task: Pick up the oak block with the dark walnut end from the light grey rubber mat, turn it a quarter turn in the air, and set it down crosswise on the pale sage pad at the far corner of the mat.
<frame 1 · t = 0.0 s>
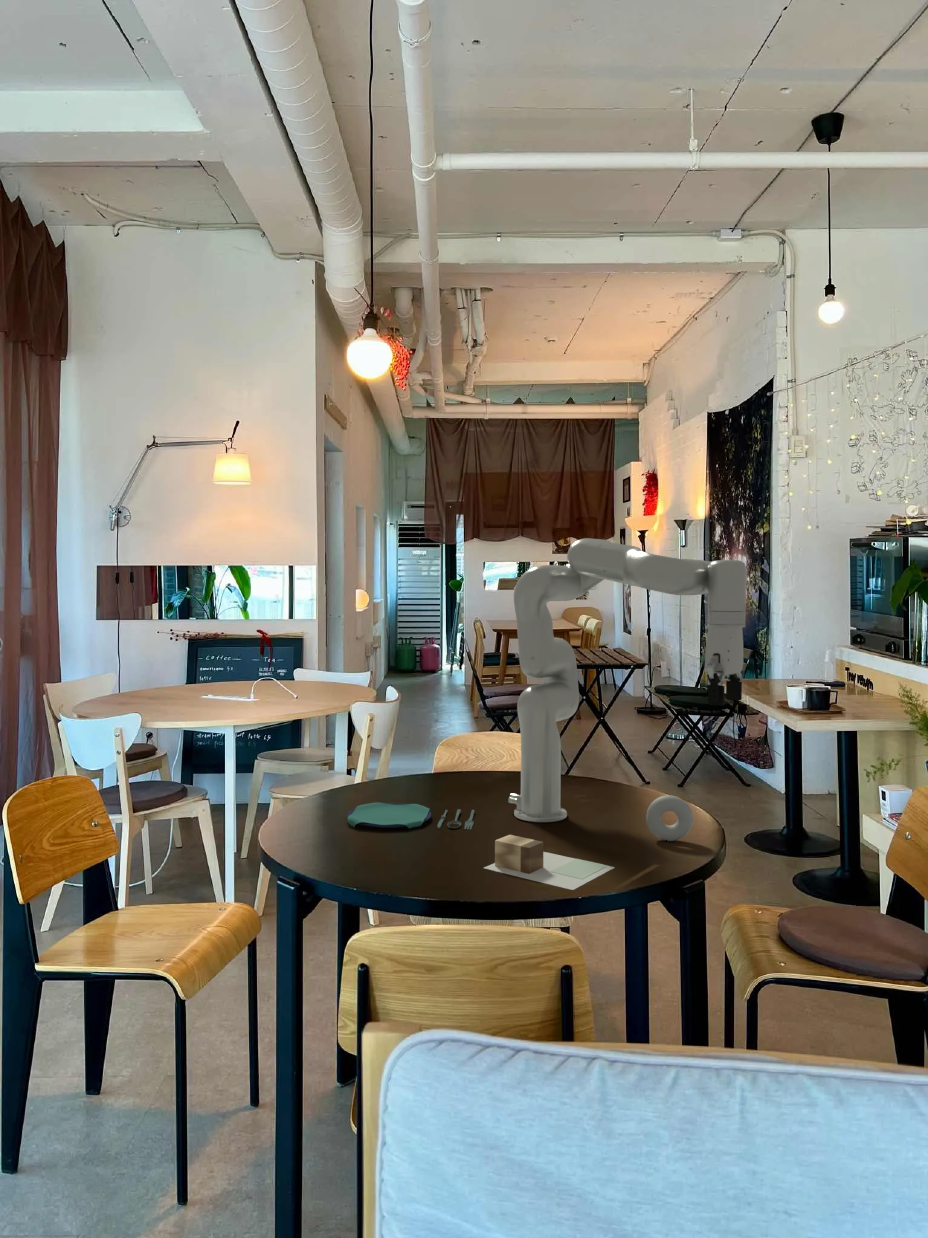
hand: (725, 702, 183), 31 cm above the table, tool pointing down, fingers open, 9 cm apart
donut: (669, 842, 191), on the table
oak block: (519, 866, 172), point 1 cm above the table, touching grey mat
grey mat: (549, 870, 171), on the table
cutlery set: (410, 823, 207), on the table
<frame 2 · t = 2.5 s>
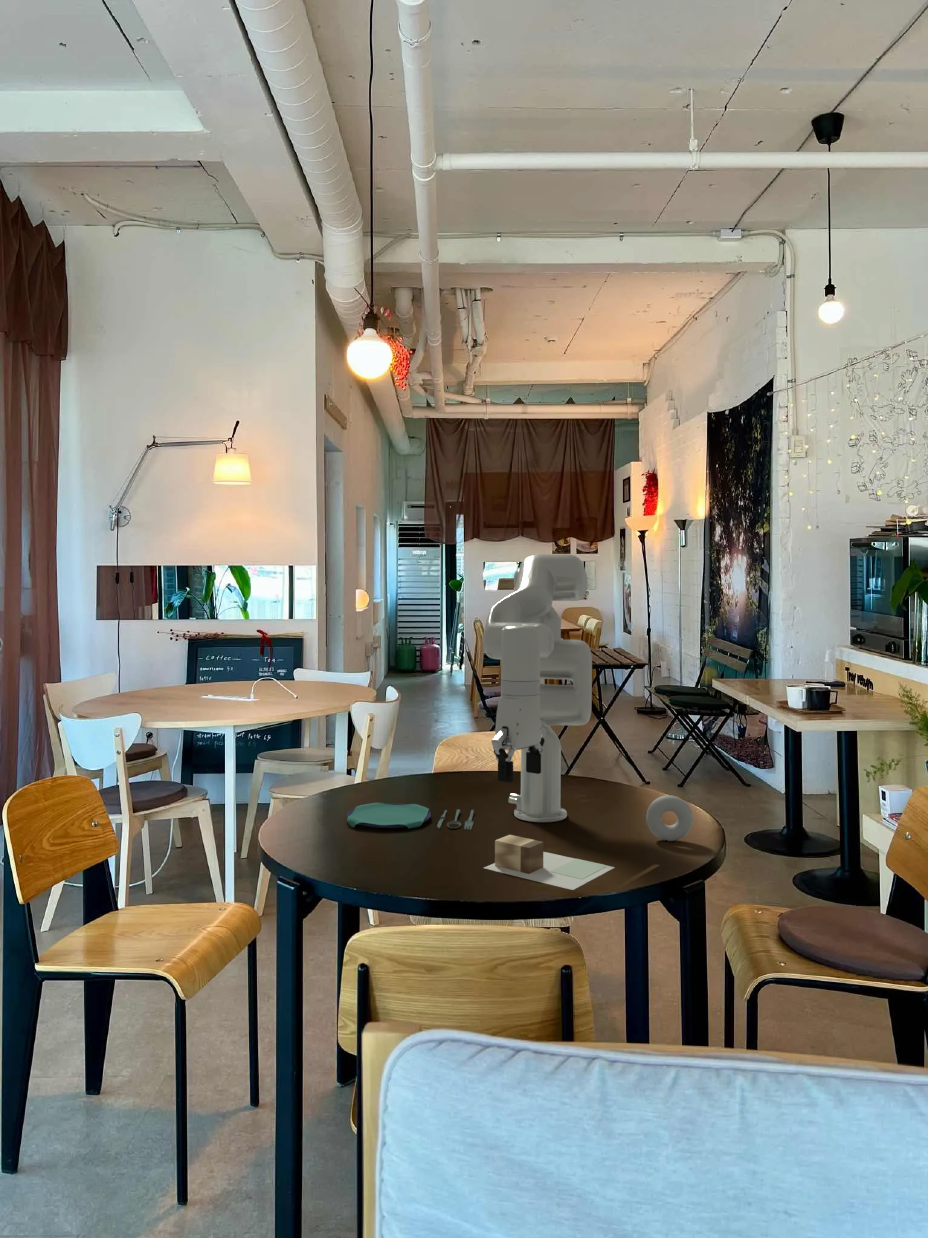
hand: (519, 777, 171), 18 cm above the table, tool pointing down, fingers open, 9 cm apart
nothing on the table moved.
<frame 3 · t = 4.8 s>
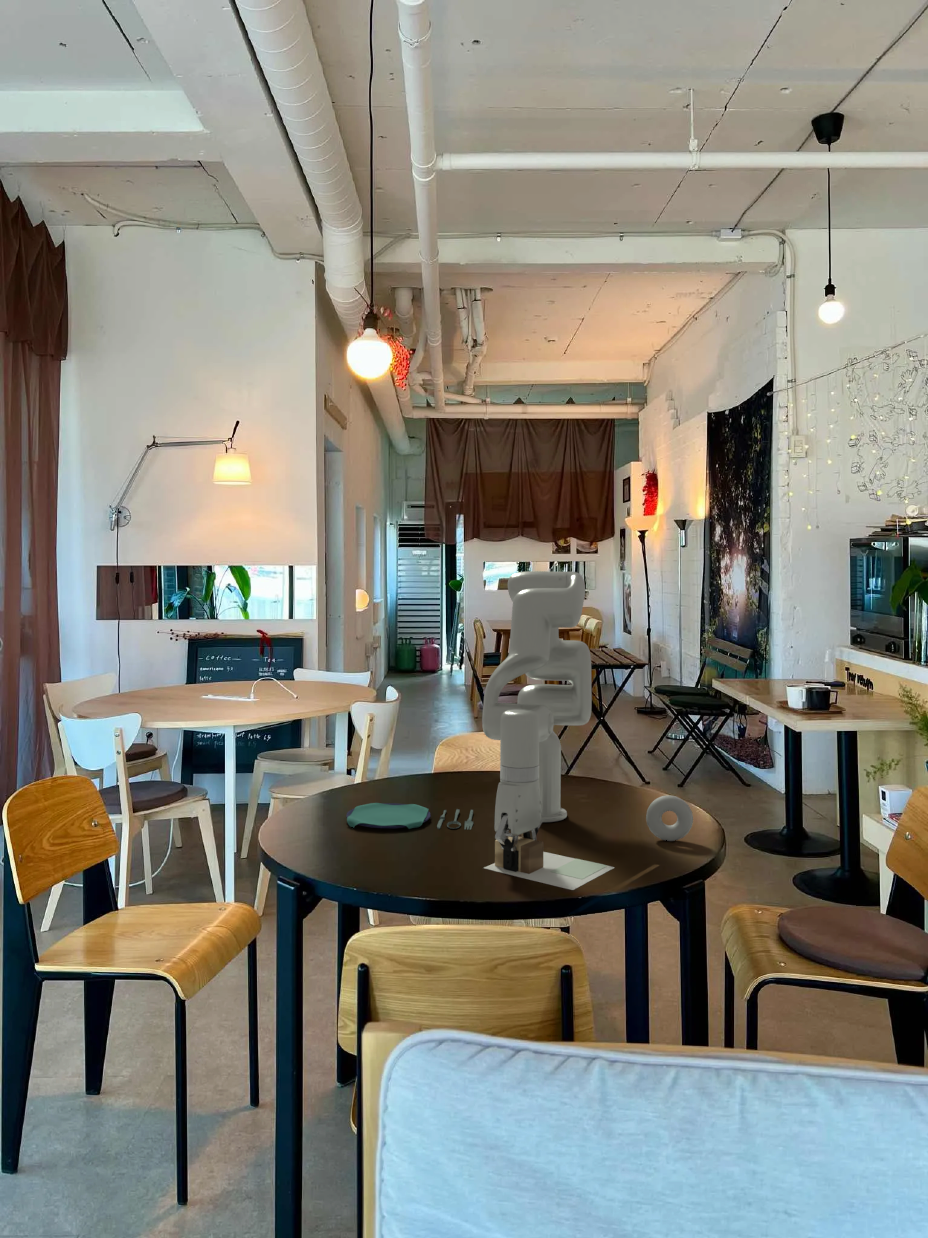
hand: (519, 865, 172), 1 cm above the table, tool pointing down, fingers closed on oak block, 5 cm apart
oak block: (519, 866, 172), point 1 cm above the table, touching grey mat, gripper
everything else where it was.
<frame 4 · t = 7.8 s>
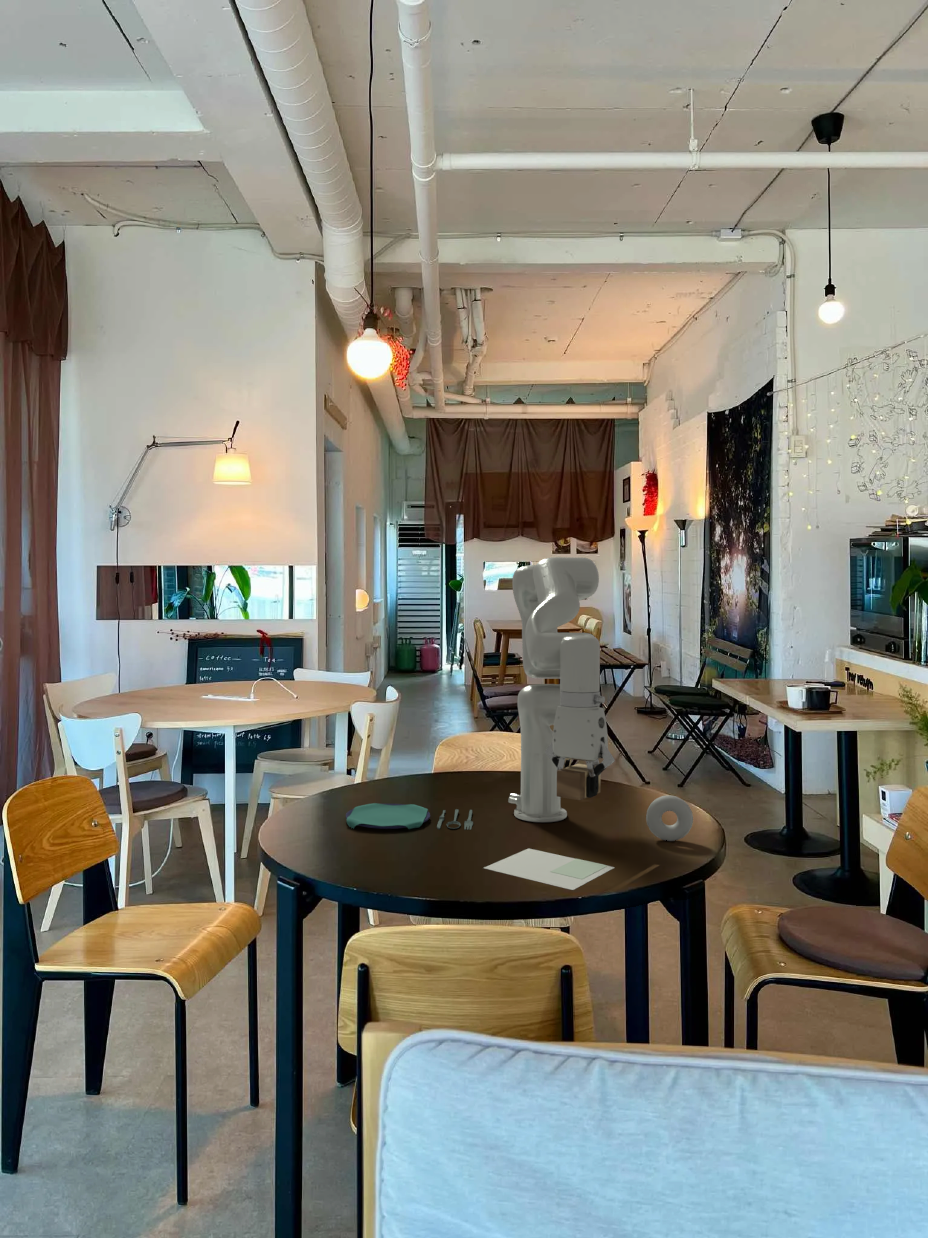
hand: (578, 793, 170), 15 cm above the table, tool pointing down, fingers closed on oak block, 5 cm apart
oak block: (578, 794, 170), point 15 cm above the table, touching gripper
everything else where it was.
when the fingers open (2 cm above the table, at t = 11.0 s): oak block drops 1 cm, resting on grey mat.
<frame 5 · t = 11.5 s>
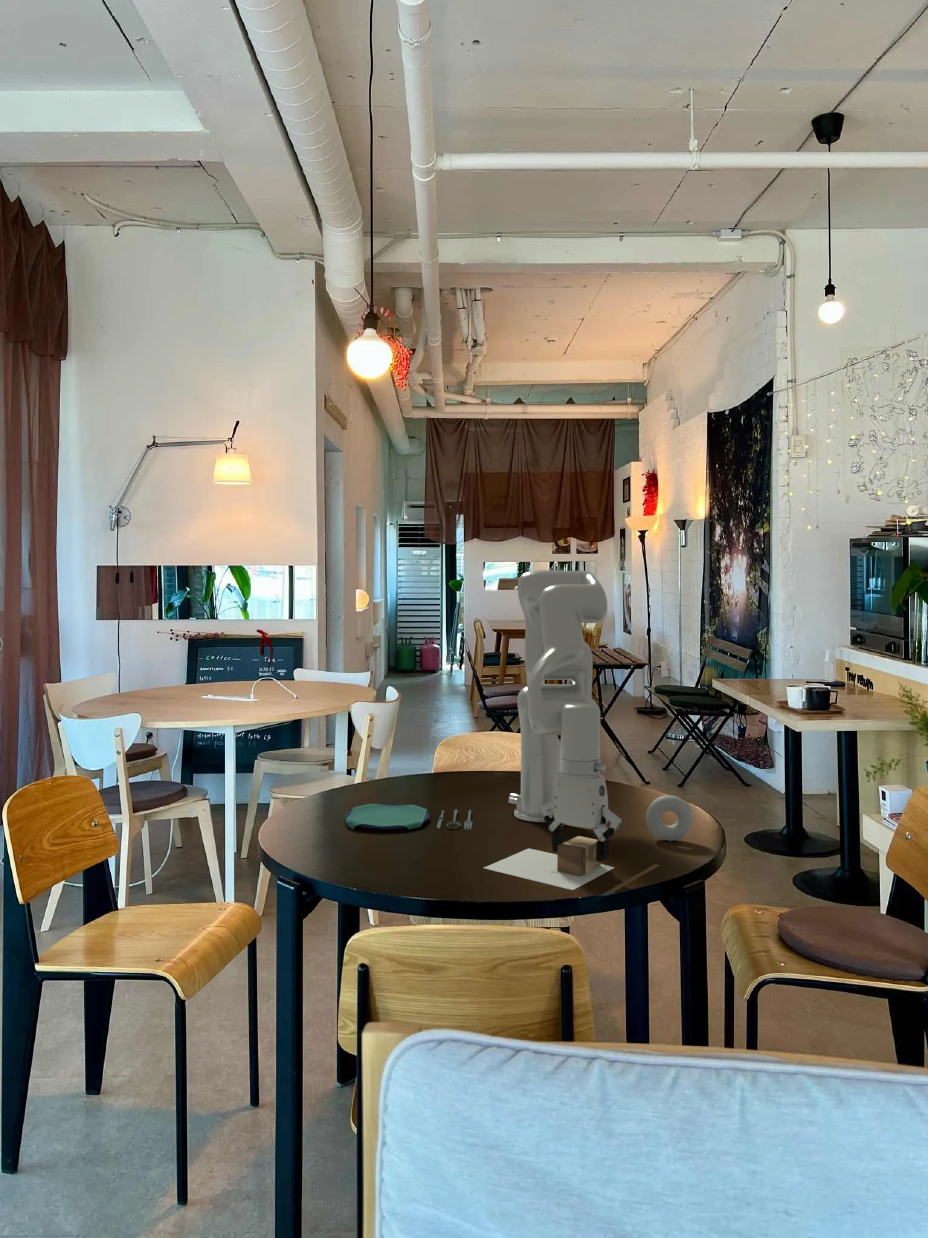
hand: (579, 855, 171), 3 cm above the table, tool pointing down, fingers open, 9 cm apart
oak block: (579, 868, 171), point 1 cm above the table, touching grey mat
everything else where it was.
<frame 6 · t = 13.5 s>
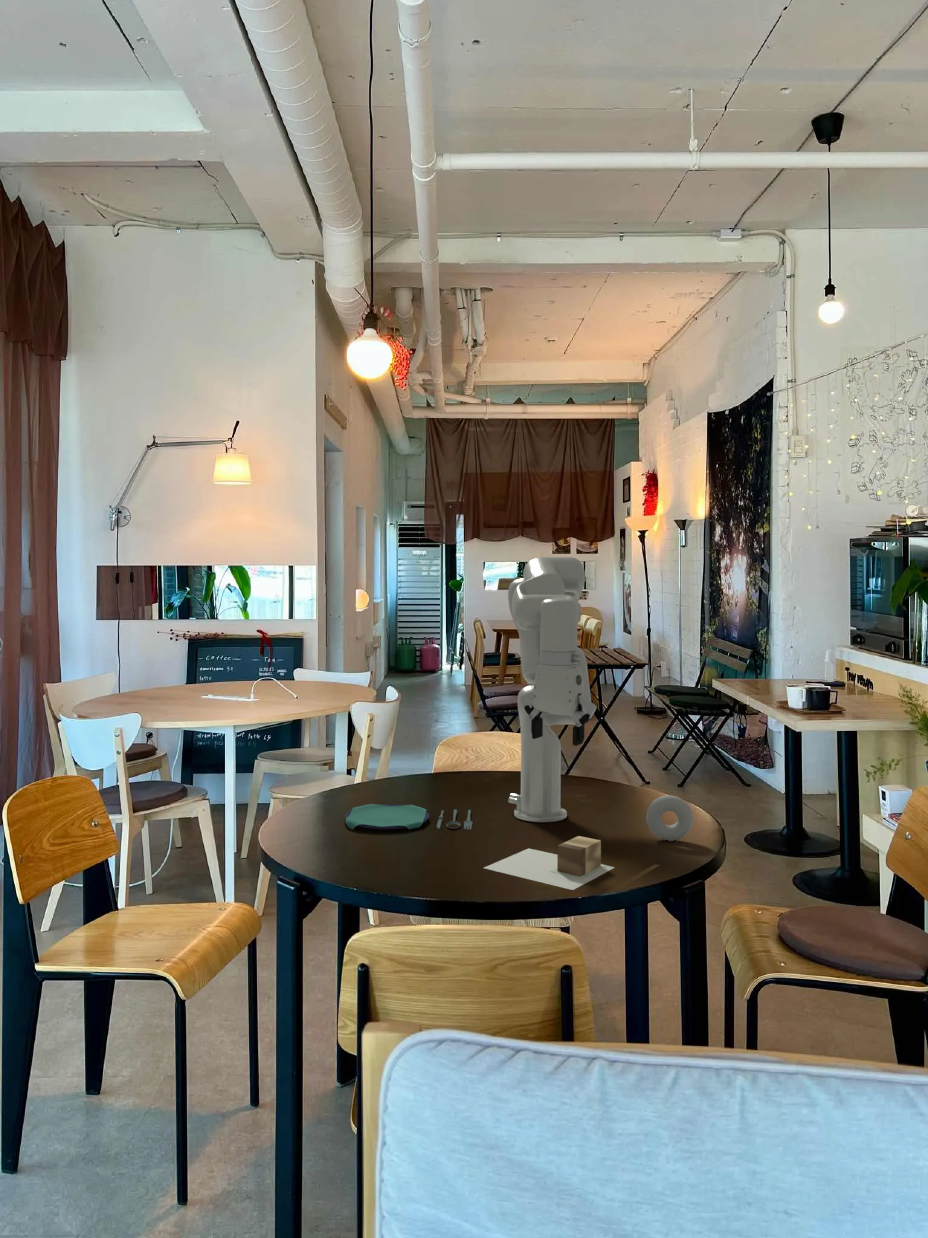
hand: (557, 741, 182), 23 cm above the table, tool pointing down, fingers open, 9 cm apart
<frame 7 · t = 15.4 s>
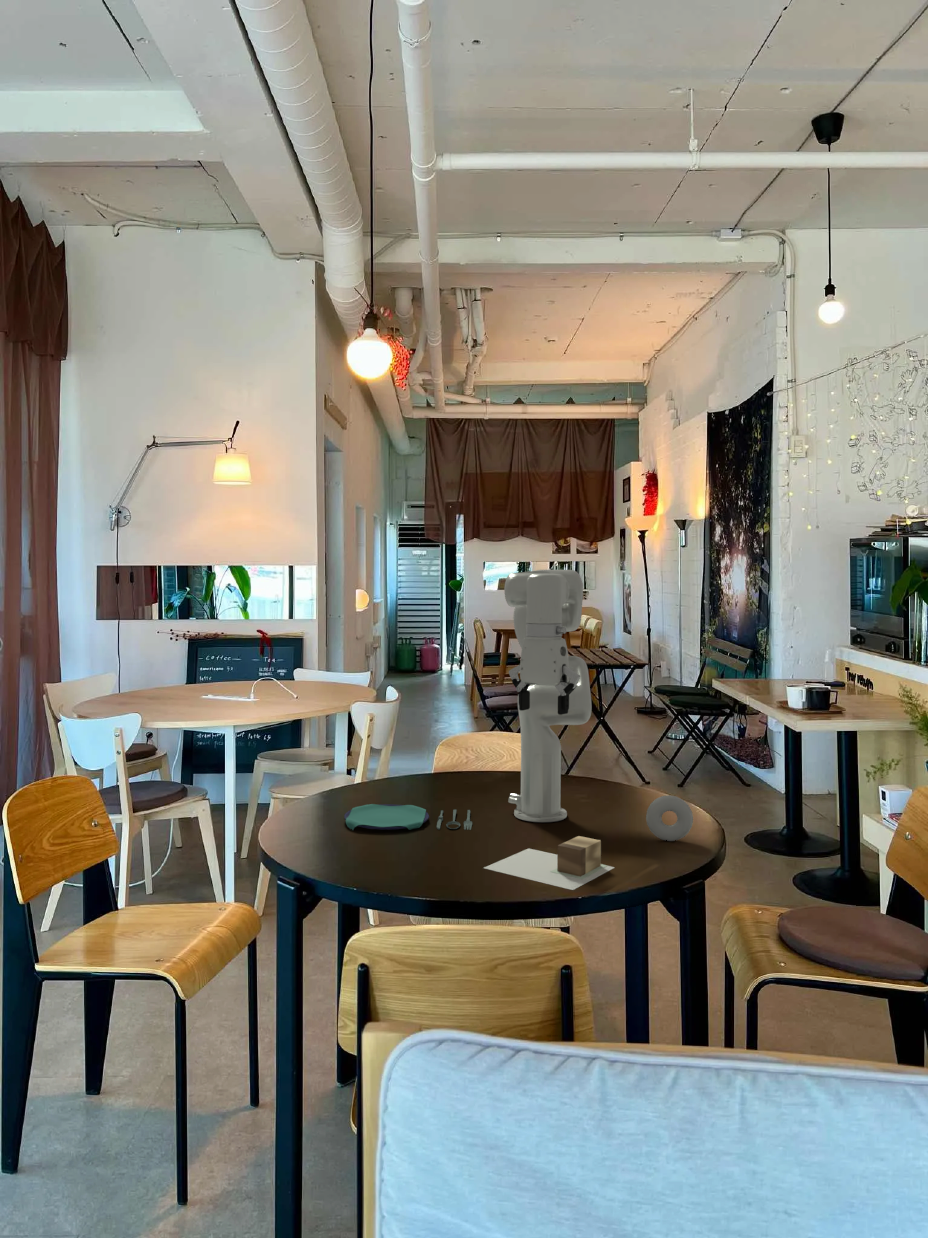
hand: (543, 711, 189), 28 cm above the table, tool pointing down, fingers open, 9 cm apart
at the end: oak block 0.0 cm from the target spot, point 0.7 cm above the table; oak block tilted 0°; the gripper is holding nothing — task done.
